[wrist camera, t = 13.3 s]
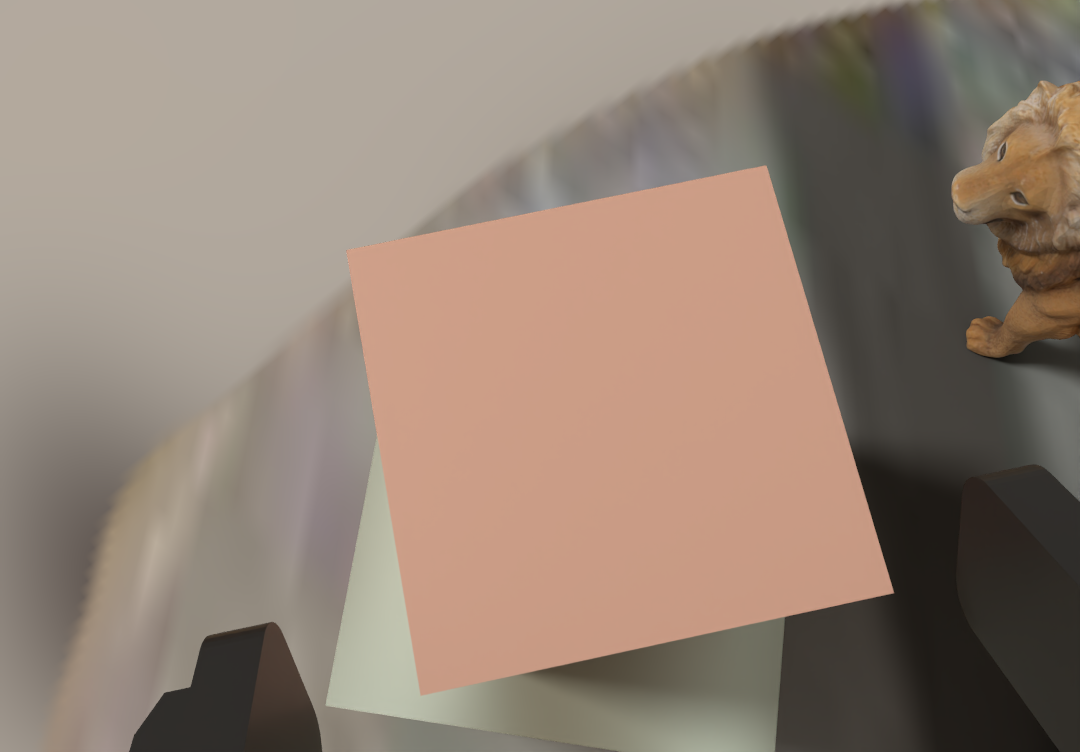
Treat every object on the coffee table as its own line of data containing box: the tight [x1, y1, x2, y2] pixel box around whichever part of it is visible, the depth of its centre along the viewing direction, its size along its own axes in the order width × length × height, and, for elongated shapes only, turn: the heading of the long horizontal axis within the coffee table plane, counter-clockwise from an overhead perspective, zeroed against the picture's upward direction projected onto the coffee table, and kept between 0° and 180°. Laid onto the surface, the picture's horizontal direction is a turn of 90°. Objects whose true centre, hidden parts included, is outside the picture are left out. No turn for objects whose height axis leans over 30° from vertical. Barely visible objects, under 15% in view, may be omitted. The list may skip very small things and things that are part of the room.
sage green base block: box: [326, 437, 785, 752], centre depth 24 cm, size 9×9×8 cm
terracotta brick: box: [347, 166, 894, 696], centre depth 15 cm, size 5×5×10 cm
